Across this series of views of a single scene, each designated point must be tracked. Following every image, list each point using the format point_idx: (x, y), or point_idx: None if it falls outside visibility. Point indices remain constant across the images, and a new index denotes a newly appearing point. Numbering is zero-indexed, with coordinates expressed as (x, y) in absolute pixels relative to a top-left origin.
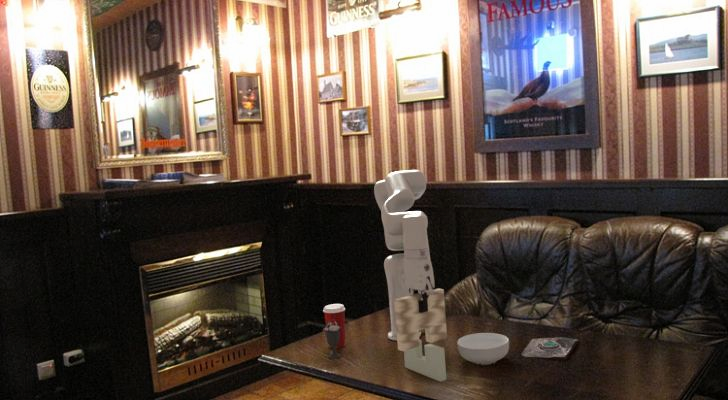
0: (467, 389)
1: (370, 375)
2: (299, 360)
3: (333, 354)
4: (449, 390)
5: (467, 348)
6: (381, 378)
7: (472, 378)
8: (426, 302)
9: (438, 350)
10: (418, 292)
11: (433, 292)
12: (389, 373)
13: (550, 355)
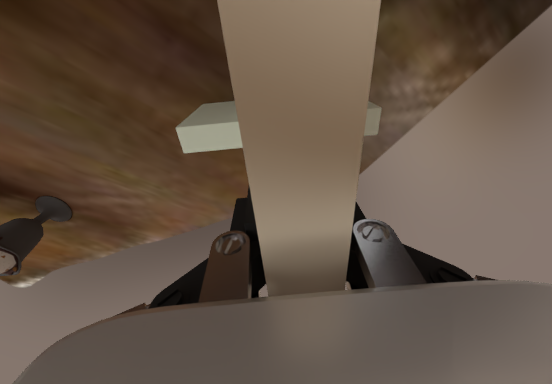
0: (428, 87)
1: (212, 201)
2: (61, 259)
3: (55, 216)
4: (396, 123)
5: None
6: (241, 193)
7: (396, 22)
8: (363, 218)
9: (377, 133)
10: (250, 278)
11: (359, 132)
12: (224, 169)
13: None
